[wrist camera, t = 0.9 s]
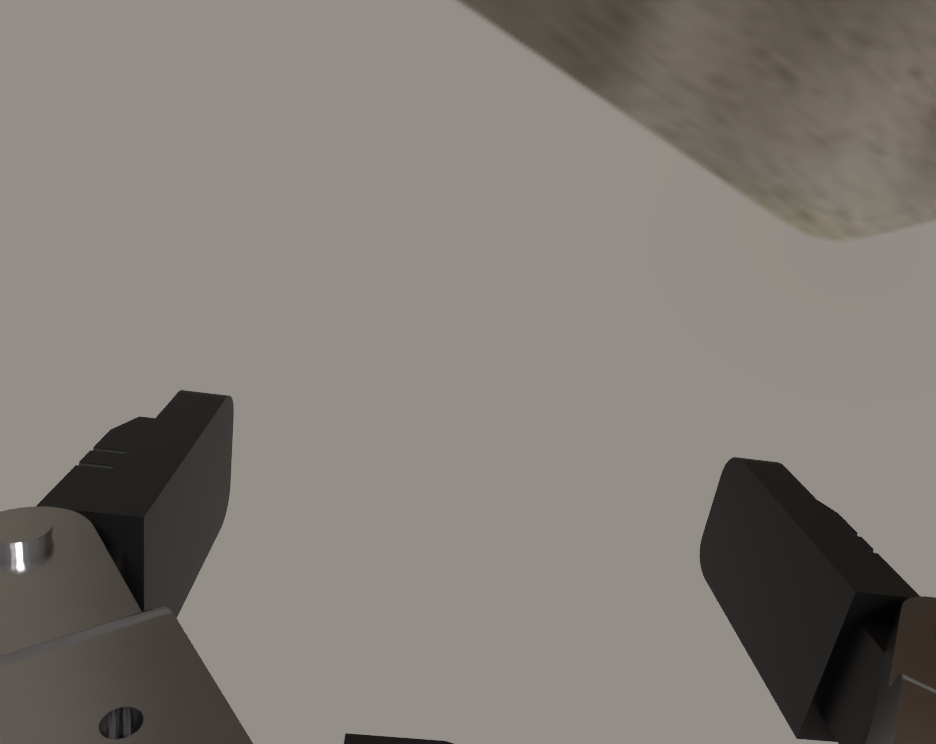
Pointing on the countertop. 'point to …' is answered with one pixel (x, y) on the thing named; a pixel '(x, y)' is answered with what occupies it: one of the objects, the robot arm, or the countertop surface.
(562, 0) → the countertop surface
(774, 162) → the countertop surface
